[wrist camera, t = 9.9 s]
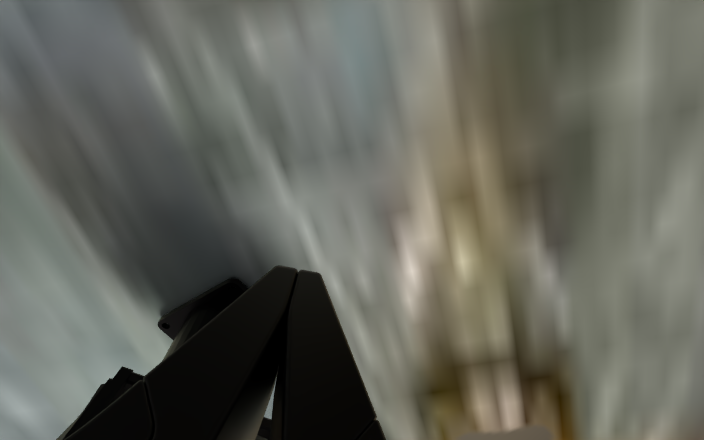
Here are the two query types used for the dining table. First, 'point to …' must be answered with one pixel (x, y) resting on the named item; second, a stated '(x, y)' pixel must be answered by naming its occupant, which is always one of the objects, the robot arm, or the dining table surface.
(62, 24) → the dining table surface
